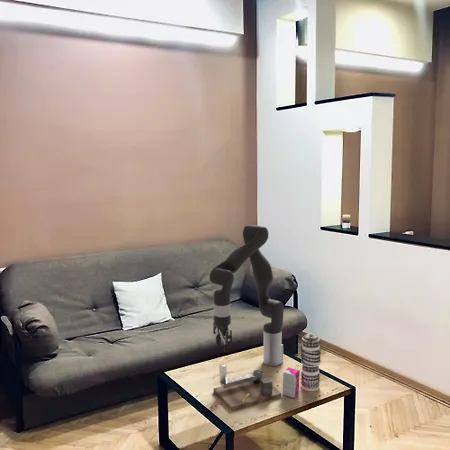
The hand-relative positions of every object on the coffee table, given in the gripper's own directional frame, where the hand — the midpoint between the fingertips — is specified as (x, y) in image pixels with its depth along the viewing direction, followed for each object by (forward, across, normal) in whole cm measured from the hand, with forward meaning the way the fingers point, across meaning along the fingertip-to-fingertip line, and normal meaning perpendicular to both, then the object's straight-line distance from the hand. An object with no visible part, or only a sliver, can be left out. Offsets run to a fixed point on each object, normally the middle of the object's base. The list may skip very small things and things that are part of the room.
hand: (222, 348), depth 220 cm
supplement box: (+22, -14, -27) cm, 38 cm away
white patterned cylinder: (+22, -12, -39) cm, 47 cm away
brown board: (+22, -5, -10) cm, 25 cm away
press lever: (+20, 0, -9) cm, 22 cm away
